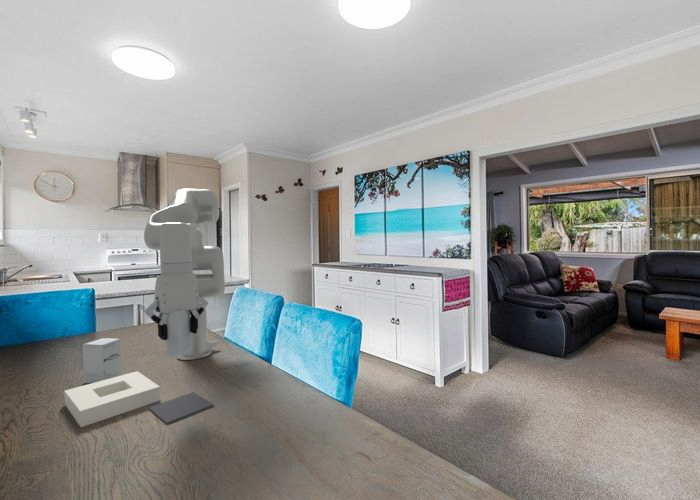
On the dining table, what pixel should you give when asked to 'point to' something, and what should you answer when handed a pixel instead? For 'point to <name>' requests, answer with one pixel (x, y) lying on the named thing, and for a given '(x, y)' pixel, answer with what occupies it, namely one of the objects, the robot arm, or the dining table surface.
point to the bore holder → (110, 397)
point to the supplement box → (101, 360)
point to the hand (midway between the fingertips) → (178, 335)
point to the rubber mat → (180, 407)
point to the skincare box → (178, 333)
